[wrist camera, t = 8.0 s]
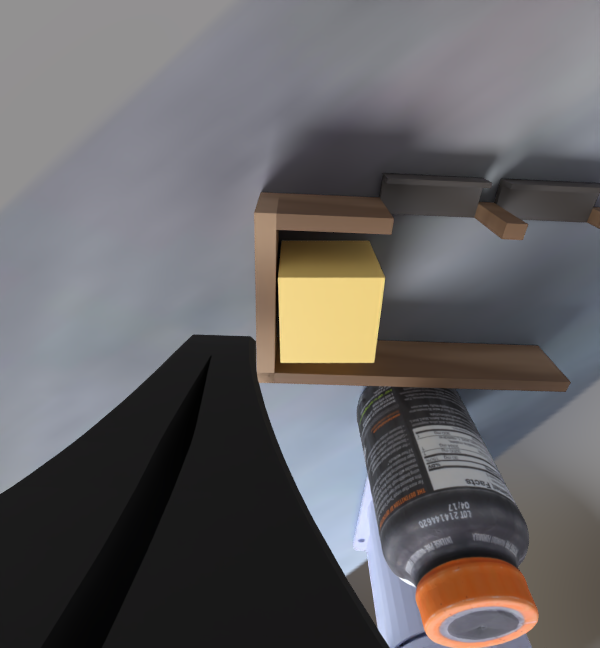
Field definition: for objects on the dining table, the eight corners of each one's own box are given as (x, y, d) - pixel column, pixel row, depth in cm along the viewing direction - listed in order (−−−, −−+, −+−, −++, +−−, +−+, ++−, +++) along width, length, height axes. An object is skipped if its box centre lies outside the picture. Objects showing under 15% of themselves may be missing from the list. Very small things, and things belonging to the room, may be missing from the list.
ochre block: (361, 314, 20) (373, 362, 17) (283, 314, 20) (280, 362, 17) (368, 240, 18) (385, 277, 15) (281, 239, 18) (278, 277, 15)
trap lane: (533, 354, 21) (565, 392, 19) (262, 345, 21) (257, 382, 18) (609, 183, 17) (666, 202, 14) (260, 167, 16) (253, 184, 14)
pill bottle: (384, 451, 26) (437, 675, 16) (336, 394, 23) (365, 622, 13) (472, 412, 24) (591, 639, 14) (431, 346, 21) (542, 569, 12)
